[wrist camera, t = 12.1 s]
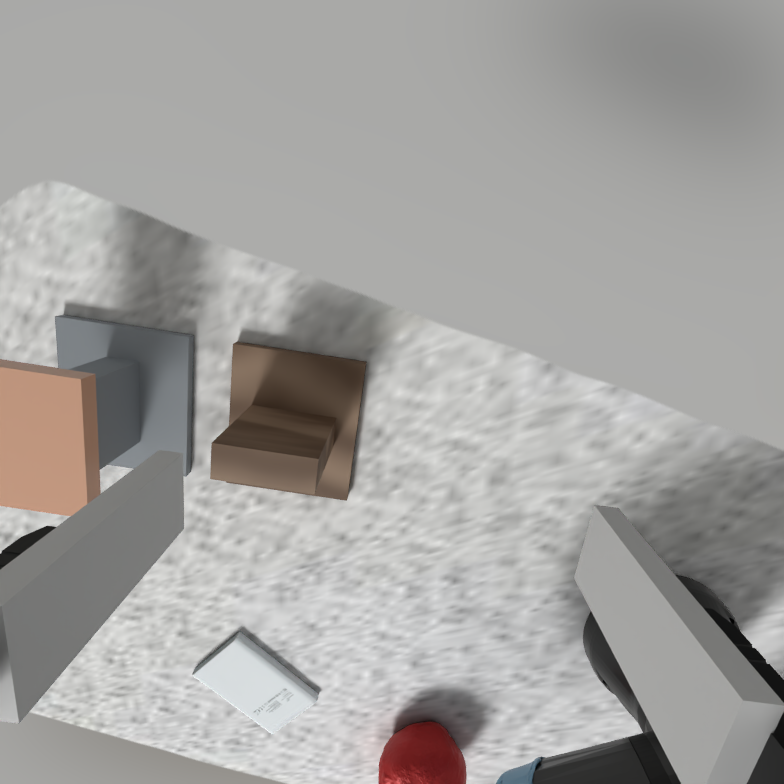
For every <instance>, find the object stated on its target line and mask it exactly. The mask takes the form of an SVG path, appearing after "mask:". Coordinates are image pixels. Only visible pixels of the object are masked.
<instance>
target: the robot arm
mask: <svg viewBox="0 0 784 784" xmlns="http://www.w3.org/2000/svg"><path fill="white" fill-rule="evenodd" d="M183 529H184V492H183V453H179V452H171V451H163V450H159V451H157V452H156V453H155V454H153V455H152V456H151V457H149V458H148V459H147V460H145V461H144V462H143V463H141V464H140V465H139V466H137V467H136V468H135V469H133V470H132V471H131V472H129V473H128V474H127V475H125V476H124V477H123V478H121V479H120V480H119V481H117V482H116V483H115V484H113V485H112V486H111V487H109V488H108V489H107V490H105V491H104V492H103V493H101V494H100V495H99V496H97V497H96V498H95V499H93V500H92V501H91V502H89V503H88V504H87V505H85V506H84V507H83V508H81V509H80V510H79V511H77V512H76V513H75V514H73V515H72V516H71V517H69V518H68V519H67V520H65V521H64V522H63V523H61V524H60V525H59V526H57V527H52V526H46V527H43V528H41V529H39V530H36V531H34V532H32V533H30V534H27V535H25V536H23V537H21V538H20V539H18V540H17V541H15V542H14V543H13V544H11V545H10V546H8V547H7V548H5V549H4V550H3V551H2V553H1V554H0V721H3V722H10V723H18V724H19V723H20V722H21V720H22V719H23V718H24V717H25V716H26V715H27V714H28V712H29V711H30V710H31V709H32V708H33V707H34V705H35V704H36V703H37V702H38V701H39V699H40V698H41V697H42V696H43V695H44V694H45V692H46V691H47V690H48V689H49V688H50V686H51V685H52V684H53V683H54V682H55V680H56V679H57V678H58V677H59V676H60V675H61V673H62V672H63V671H64V670H65V669H66V667H67V666H68V665H69V664H70V663H71V662H72V660H73V659H74V658H75V657H76V656H77V654H78V653H79V652H80V651H81V650H82V649H83V647H84V646H85V645H86V644H87V643H88V641H89V640H90V639H91V638H92V637H93V636H94V634H95V633H96V632H97V631H98V630H99V628H100V627H101V626H102V625H103V624H104V622H105V621H106V620H107V619H108V618H109V617H110V615H111V614H112V613H113V612H114V611H115V609H116V608H117V607H118V606H119V605H120V604H121V602H122V601H123V600H124V599H125V598H126V596H127V595H128V594H129V593H130V592H131V591H132V589H133V588H134V587H135V586H136V585H137V583H138V582H139V581H140V580H141V579H142V578H143V576H144V575H145V574H146V573H147V572H148V570H149V569H150V568H151V567H152V566H153V565H154V563H155V562H156V561H157V560H158V559H159V557H160V556H161V555H162V554H163V553H164V551H165V550H166V549H167V548H168V547H169V546H170V544H171V543H172V542H173V541H174V540H175V538H176V537H177V536H178V535H179V534H180V533H181V531H182V530H183ZM574 579H575V581H576V583H577V585H578V587H579V589H580V591H581V593H582V594H583V596H584V598H585V600H586V602H587V604H588V606H589V608H590V610H591V613H590V615H589V617H588V619H587V621H586V624H585V627H584V633H583V643H584V648H585V652H586V654H587V657H588V659H589V661H590V663H591V665H592V668H593V670H594V672H595V674H596V675H597V677H598V678H599V680H600V681H601V682H602V683H603V684H604V685H605V687H606V688H607V689H608V690H609V691H611V692H612V693H613V694H615V695H616V696H617V698H618V699H619V700H620V702H621V703H622V704H623V706H624V707H625V708H626V709H627V711H628V712H629V713H630V714H631V715H632V716H633V717H634V718H635V720H636V721H637V722H638V723H639V725H640V727H641V729H642V731H643V733H642V734H638V735H635V736H631V737H626V738H622V739H618V740H614V741H611V742H607V743H603V744H600V745H596V746H592V747H588V748H585V749H580V750H576V751H572V752H568V753H564V754H560V755H556V756H552V757H547V758H545V757H538V758H536V759H535V760H534V761H533V762H532V763H529V764H526V765H523V766H520V767H517V768H514V769H511V770H508V771H506V772H505V773H503V774H502V775H501V776H500V777H499V779H498V780H497V782H496V784H784V680H783V679H782V678H781V677H780V675H779V674H778V673H777V672H776V671H775V670H774V669H773V668H772V666H771V665H770V664H766V660H765V659H764V658H763V656H762V655H761V654H760V653H759V652H758V651H757V650H756V649H755V648H752V644H751V643H750V642H749V641H748V640H747V639H746V637H745V636H744V635H743V634H742V633H741V632H740V630H739V627H738V625H737V623H736V620H735V619H734V617H733V615H732V614H731V612H730V611H729V610H728V608H727V607H726V606H725V605H724V604H723V603H722V602H721V601H720V599H719V598H718V597H717V596H716V595H715V594H714V593H713V592H712V591H711V590H710V589H708V588H707V587H706V586H704V585H703V584H701V583H699V582H697V581H695V580H692V579H689V578H686V577H682V576H676V575H675V574H674V573H673V572H672V571H671V570H670V568H669V567H668V566H667V565H666V564H665V563H664V561H663V560H662V559H661V558H660V557H659V556H658V554H657V553H656V552H655V551H654V550H653V548H652V547H651V546H650V545H649V544H648V543H647V541H646V540H645V539H644V538H643V537H642V536H641V534H640V533H639V532H638V531H637V530H636V528H635V527H634V526H633V525H632V524H631V523H630V521H629V520H628V519H627V518H626V517H625V516H624V514H623V513H622V512H621V511H620V510H619V508H614V507H606V506H598V505H594V507H593V511H592V514H591V518H590V522H589V525H588V529H587V533H586V536H585V540H584V543H583V547H582V551H581V554H580V558H579V561H578V565H577V569H576V572H575V576H574Z"/></svg>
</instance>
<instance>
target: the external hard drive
mask: <svg viewBox="0 0 784 784" xmlns="http://www.w3.org/2000/svg"><path fill="white" fill-rule="evenodd" d="M192 676H193V677H195V678H196V679H198V680H199V681H200V682H201V683H203V684H204V685H206V686H207V687H208V688H210V689H211V690H212V691H214V692H215V693H216V694H218V695H219V696H221V697H222V698H223V699H225V700H226V701H227V702H229V703H230V704H231V705H233V706H234V707H236V708H237V709H238V710H240V711H241V712H242V713H244V714H245V715H246V716H248V717H249V718H251V719H252V720H253V721H255V722H256V723H257V724H259V725H260V726H261V727H263V728H264V729H265V730H267V731H268V732H269V733H271V734H274V733H275V732H277V731H278V730H280V729H281V728H282V727H283V726H285V725H286V724H288V723H289V722H290V721H292V720H293V719H294V718H296V717H297V716H299V715H300V714H301V713H303V712H304V711H305V710H307V709H308V708H309V707H311V706H312V705H314V704H315V703H316V701H317V700H318V695H319V693H317V692H316V691H315V690H313V689H312V688H311V687H310V686H308V685H307V684H306V683H305V682H303V681H302V680H301V679H300V678H298V677H297V676H296V675H294V674H293V673H292V672H291V671H289V670H288V669H287V668H286V667H284V666H283V665H282V664H281V663H279V662H278V661H277V660H275V659H274V658H273V657H272V656H270V655H269V654H268V653H267V652H265V651H264V650H263V649H262V648H260V647H259V646H258V645H257V644H255V643H254V642H253V641H252V640H250V639H249V638H248V637H246V636H245V635H244V634H243V633H241V632H240V631H239V632H238V633H237V634H236V635H235V636H233V637H232V638H231V639H230V640H229V641H227V642H226V643H225V644H224V645H223V646H221V647H220V648H219V649H218V650H217V651H215V652H214V653H213V654H212V655H211V656H210V657H208V658H207V659H206V660H205V661H204V662H202V663H201V664H200V665H199V666H198V667H196V668H195V669H194V672H193V674H192Z"/></svg>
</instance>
